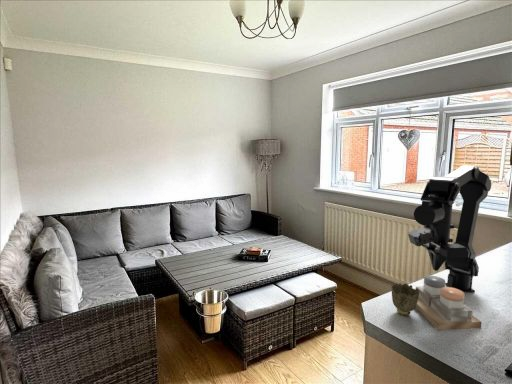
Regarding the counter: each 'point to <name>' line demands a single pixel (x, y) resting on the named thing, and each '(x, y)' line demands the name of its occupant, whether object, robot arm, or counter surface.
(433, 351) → the counter surface
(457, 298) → the plunger terracotta
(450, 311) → the button board
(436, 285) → the plunger grey
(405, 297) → the cup
